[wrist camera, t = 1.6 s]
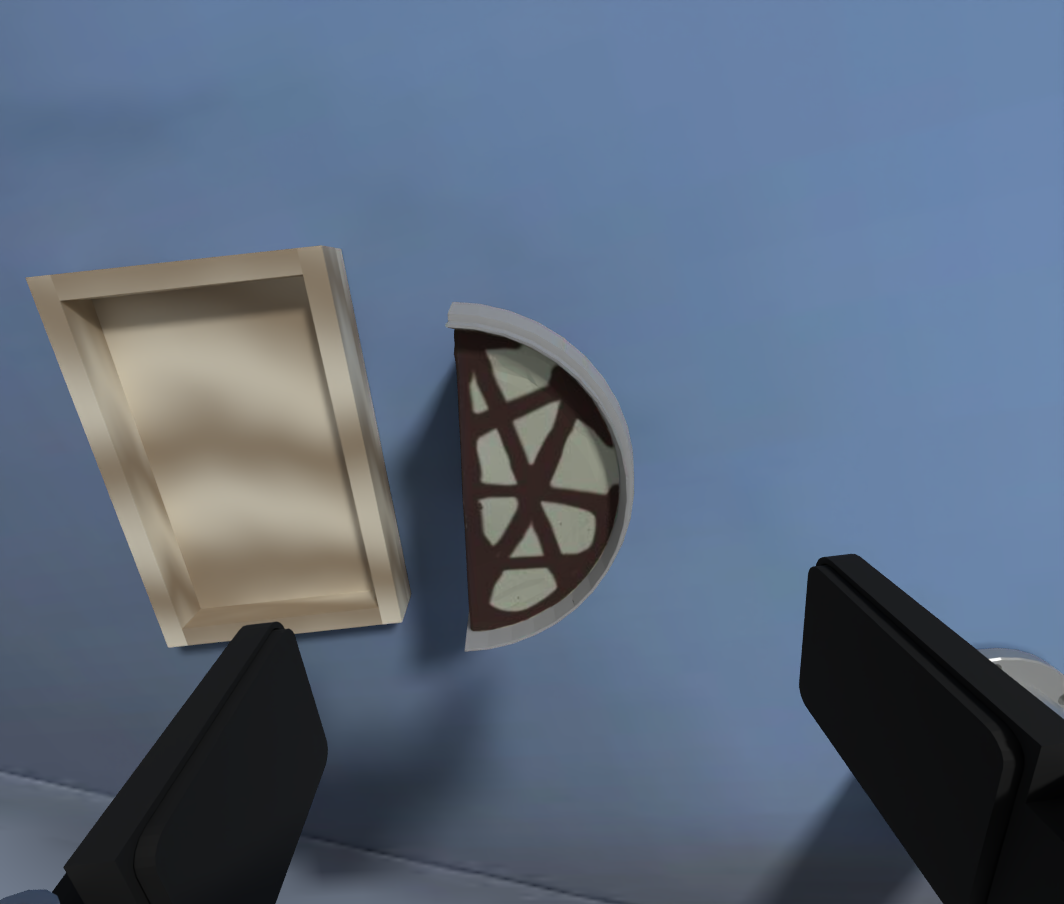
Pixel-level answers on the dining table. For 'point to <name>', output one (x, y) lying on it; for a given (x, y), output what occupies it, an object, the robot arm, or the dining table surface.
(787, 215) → the dining table surface
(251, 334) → the holder tray
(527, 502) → the food container
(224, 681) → the robot arm
